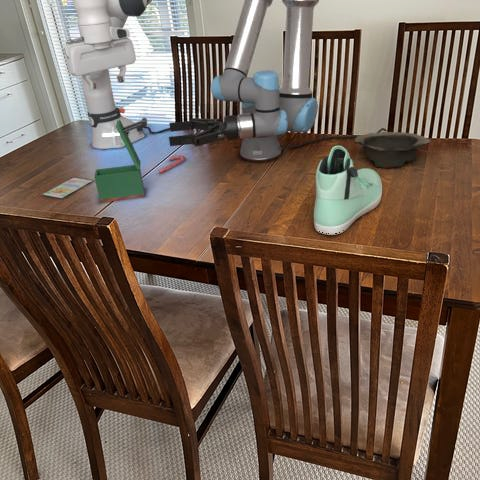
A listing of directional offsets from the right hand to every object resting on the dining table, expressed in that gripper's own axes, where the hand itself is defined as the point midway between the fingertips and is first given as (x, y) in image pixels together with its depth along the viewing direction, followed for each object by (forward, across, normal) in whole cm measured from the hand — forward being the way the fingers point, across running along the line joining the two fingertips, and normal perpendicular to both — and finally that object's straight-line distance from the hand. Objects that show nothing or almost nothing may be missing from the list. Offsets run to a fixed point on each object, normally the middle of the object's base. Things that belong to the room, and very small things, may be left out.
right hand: (169, 134), depth 148 cm
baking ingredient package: (+38, +11, -19) cm, 44 cm away
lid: (+14, 0, -2) cm, 14 cm away
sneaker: (-49, -26, -19) cm, 59 cm away
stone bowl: (-74, +6, -19) cm, 77 cm away
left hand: (+16, 0, +16) cm, 22 cm away
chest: (+18, 0, -19) cm, 26 cm away
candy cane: (+2, +21, -19) cm, 29 cm away
